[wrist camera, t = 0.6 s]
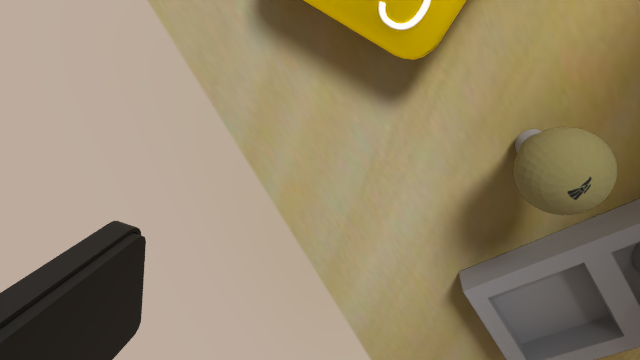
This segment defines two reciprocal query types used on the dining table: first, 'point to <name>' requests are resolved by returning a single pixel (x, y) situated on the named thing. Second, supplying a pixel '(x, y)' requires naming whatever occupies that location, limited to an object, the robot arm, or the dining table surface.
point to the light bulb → (563, 169)
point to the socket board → (564, 291)
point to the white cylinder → (636, 257)
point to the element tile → (395, 22)
